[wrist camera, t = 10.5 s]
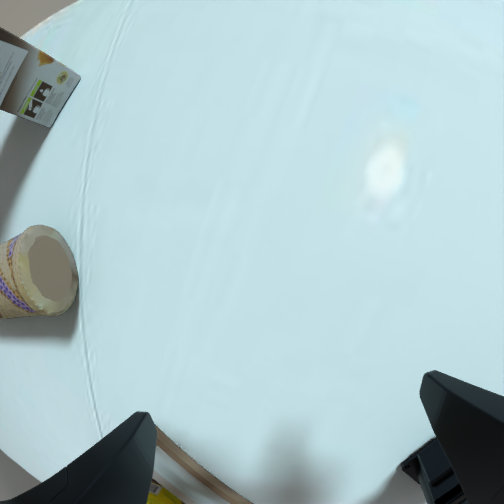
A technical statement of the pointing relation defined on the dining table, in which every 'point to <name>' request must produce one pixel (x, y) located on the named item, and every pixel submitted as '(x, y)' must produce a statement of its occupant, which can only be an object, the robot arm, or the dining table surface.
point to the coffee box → (32, 81)
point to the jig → (188, 476)
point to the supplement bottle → (161, 495)
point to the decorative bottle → (36, 274)
